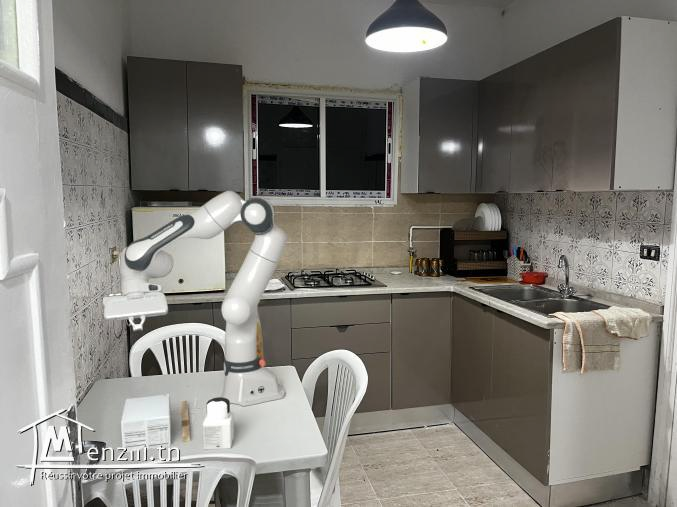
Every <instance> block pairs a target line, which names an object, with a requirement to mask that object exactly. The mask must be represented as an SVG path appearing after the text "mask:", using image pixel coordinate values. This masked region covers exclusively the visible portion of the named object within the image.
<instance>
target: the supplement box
mask: <svg viewBox="0 0 677 507" xmlns="http://www.w3.org/2000/svg"><path fill="white" fill-rule="evenodd" d="M171 414H172V413H171V394H169V393H168V394H160V395H159V394H158V395H152V396H151V395H150V396H142V397H133V398H132V397H131V398H126V399H125V402H124V406H123V410H122V414H121V415H122V417H121V419H120V420H121V421H120V434H121V435H120V436H121V448H127V451H126V452H125V453H131V452H137V451H136V450H138V451H141V450H140V449H142V448H144V446H145V445H146V446H147V449H146V450H150V448H152V449H158V447H159V446H163V447H162V448H165V447H171V445H172V444H171V442H172V416H171ZM159 448H160V447H159Z"/></svg>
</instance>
